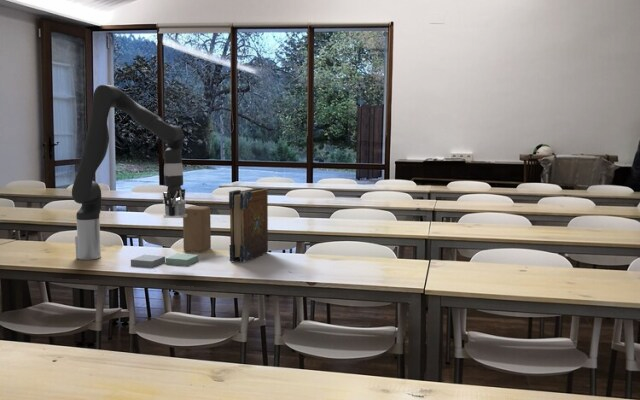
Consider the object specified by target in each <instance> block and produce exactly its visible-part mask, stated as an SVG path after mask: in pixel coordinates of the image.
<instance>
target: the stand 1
mask: <svg viewBox="0 0 640 400" xmlns="http://www.w3.org/2000/svg"><path fill="white" fill-rule="evenodd" d="M164 263H166V256H165V255H164V256H163V255H151V254H143V255H142V254H141V255H139V256H137V257H134V258H131V259H130V266H131V267H133V266H134V267H142V268H143V267H144V268H154V267H156V266H159V265H161V264H164Z"/></svg>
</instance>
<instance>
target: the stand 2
mask: <svg viewBox="0 0 640 400" xmlns="http://www.w3.org/2000/svg"><path fill="white" fill-rule="evenodd" d="M199 256H200V255H199V254H193V253H192V254H190V253H175V254H173V255H170V256H167V257H165V265H174V266H185V267H187V266H190V265H193V264H195V263H197V262H199V261H200V258H199Z"/></svg>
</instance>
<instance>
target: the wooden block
mask: <svg viewBox="0 0 640 400" xmlns="http://www.w3.org/2000/svg"><path fill="white" fill-rule="evenodd" d="M185 214H187V217H183V218H182V224H183V225H182V228H183V230H182V232H183V233H182V236H183V239H182V240H183V242H182V243H183V251H185V252H191V253H194V252H195V253H204V252H206V251H208V250H210V249H211V247H212V246H211V245H212V244H211V243H212V241H211V240H212V239H211V238H212V236H211V235H212V234H211V233H212V232H211V230H212V229H211V224H212V223H211V222H212V221H211V207H210V206H203V205H202V206H201V205H191V206H187V207H185Z"/></svg>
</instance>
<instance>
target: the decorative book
mask: <svg viewBox="0 0 640 400" xmlns="http://www.w3.org/2000/svg"><path fill="white" fill-rule="evenodd" d="M268 194H269V190H268V188H262V187H260V188H258V187H256V188H250V189H245V190H241V189H235V190H229V191H228V209H229V213H230V214H229V221H230V222H229V225H230V227H229V231H230V232H229V233H230V234H229V235H230V244H229V262H230V261H234V262H237V261H239V260H240V263H241V262H242V263H241V264H245V263H248V262H251V261H252V260H253V259H254V258H257V257H260V256H263V255H265V254H268V253H269V249H268V248H269V245H268V243H269V241H268V239H269V235H268V234H269V232H268V231H269V230H268V229H269V227H268V226H269V224H268V223H269V222H268V220H269V217H268V215H269V213H268V207H269V206H268V202H269V201H268V197H269V195H268ZM238 259H239V260H238ZM236 260H237V261H236ZM247 261H248V262H247Z"/></svg>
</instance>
